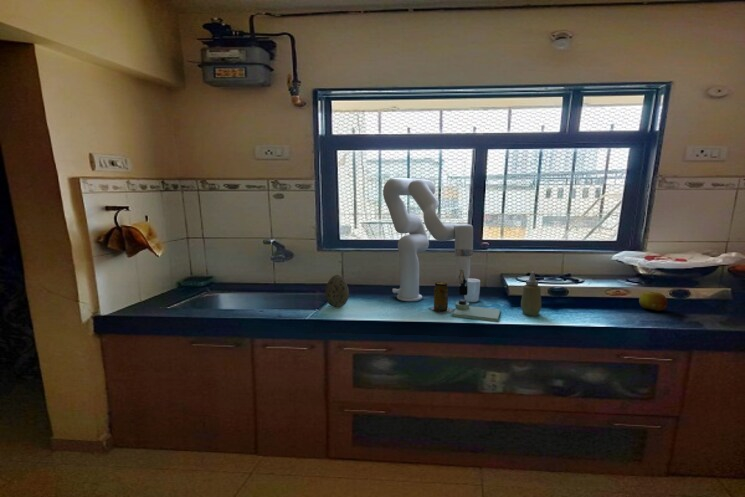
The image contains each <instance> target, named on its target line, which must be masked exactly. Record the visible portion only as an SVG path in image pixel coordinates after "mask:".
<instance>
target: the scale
mask: <svg viewBox="0 0 745 497" xmlns="http://www.w3.org/2000/svg"><path fill="white" fill-rule="evenodd" d="M470 305H471V304H470V302H467V301H466V305H460V304H459V301H456V302H455V306H454V307H455V309H454V311H452V312H451V313H452V314H451V316H452V317H457V318H465V319H473V320H481V321H489V322H499V319H500V315H501V309H500V308H499V309H498V308H490V307H482V306H481V307H480V306H470Z"/></svg>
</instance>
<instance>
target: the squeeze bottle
mask: <svg viewBox="0 0 745 497" xmlns="http://www.w3.org/2000/svg"><path fill="white" fill-rule="evenodd" d="M541 290H542V289H541V286H540V285H539V280H537V279H536V275H535V272H534V271H530V274H529V277H528V279H526V280H525V284H524V285H523V288H522V292H521V293H522V294H521V300H520V307H521V311H522V314H523V315H526V316H534V317H535V316H538V315H539V314H540V311H541V309H542V307H543V306H542V291H541Z"/></svg>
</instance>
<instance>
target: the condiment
mask: <svg viewBox="0 0 745 497" xmlns="http://www.w3.org/2000/svg"><path fill="white" fill-rule="evenodd" d="M448 307H449V289H448V283H447V282H444V281H437V282H435V283H434V288H433V307H430V308H429V309H431V310H433V311H435V312H437V313H440V314H445V313H450V312H451V313H453V312H454V310H455V309H454V310H453V309H451V308H448Z"/></svg>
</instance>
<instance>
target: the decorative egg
mask: <svg viewBox="0 0 745 497" xmlns="http://www.w3.org/2000/svg"><path fill="white" fill-rule="evenodd" d="M324 295H325V301H326V302H327V303H328V305H330V306H331V307H333V308H336V309H338V308H342V307H343V306H345V305H346V304H347V302H348V300H349V298H350V290H349V286H348V284H347V282H346V280H345V279H344V278H343V277H342V276H341V275H339V274H335V275H332V277H330V279H329V280H328V282H327V283H326V286H325V291H324Z"/></svg>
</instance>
